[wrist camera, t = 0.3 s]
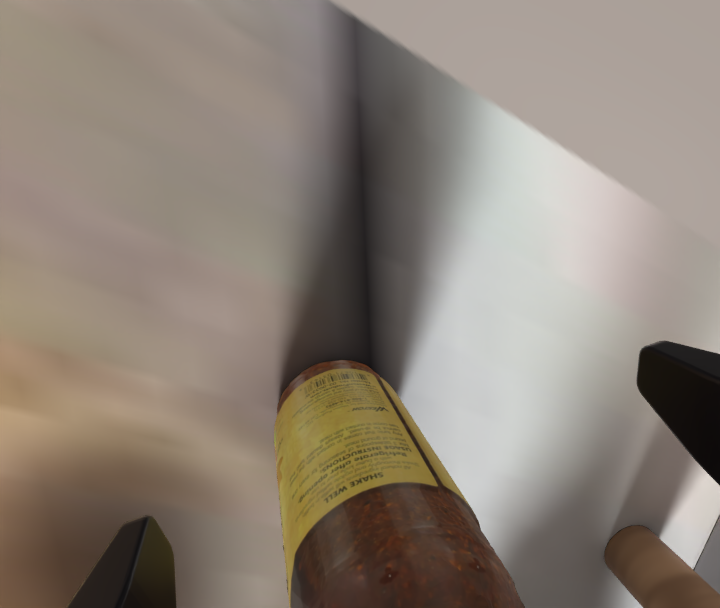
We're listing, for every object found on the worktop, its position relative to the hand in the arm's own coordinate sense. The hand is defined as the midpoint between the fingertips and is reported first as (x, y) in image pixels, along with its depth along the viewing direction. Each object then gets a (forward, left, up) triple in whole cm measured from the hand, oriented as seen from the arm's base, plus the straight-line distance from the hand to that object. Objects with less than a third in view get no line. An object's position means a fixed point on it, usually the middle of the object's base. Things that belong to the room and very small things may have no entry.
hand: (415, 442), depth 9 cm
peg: (-12, -23, -15) cm, 30 cm away
